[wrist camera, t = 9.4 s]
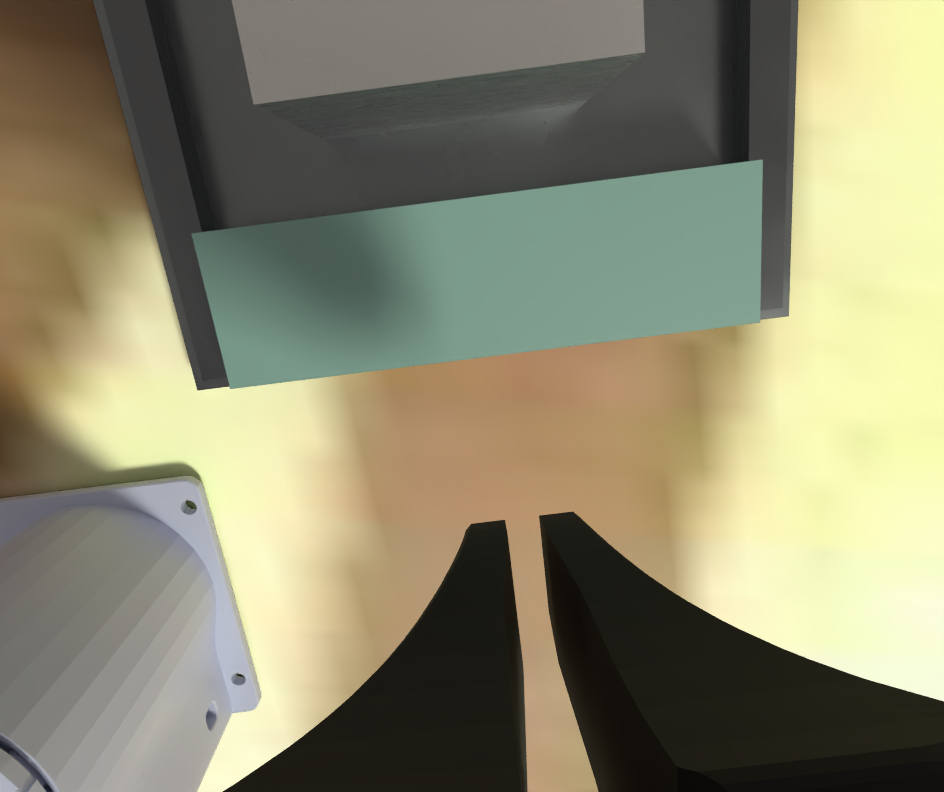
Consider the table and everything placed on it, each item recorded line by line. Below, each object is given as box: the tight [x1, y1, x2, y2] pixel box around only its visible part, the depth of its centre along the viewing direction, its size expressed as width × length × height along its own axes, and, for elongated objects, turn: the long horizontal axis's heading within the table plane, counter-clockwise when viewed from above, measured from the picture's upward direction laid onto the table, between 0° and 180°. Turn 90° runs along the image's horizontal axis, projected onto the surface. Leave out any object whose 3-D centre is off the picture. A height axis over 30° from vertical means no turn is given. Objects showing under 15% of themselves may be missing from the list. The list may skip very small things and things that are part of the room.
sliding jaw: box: [192, 160, 763, 389], centre depth 16 cm, size 4×14×2 cm, turn 97°
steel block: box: [232, 0, 645, 140], centre depth 13 cm, size 4×7×6 cm, turn 97°
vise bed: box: [93, 0, 798, 390], centre depth 15 cm, size 16×18×3 cm
